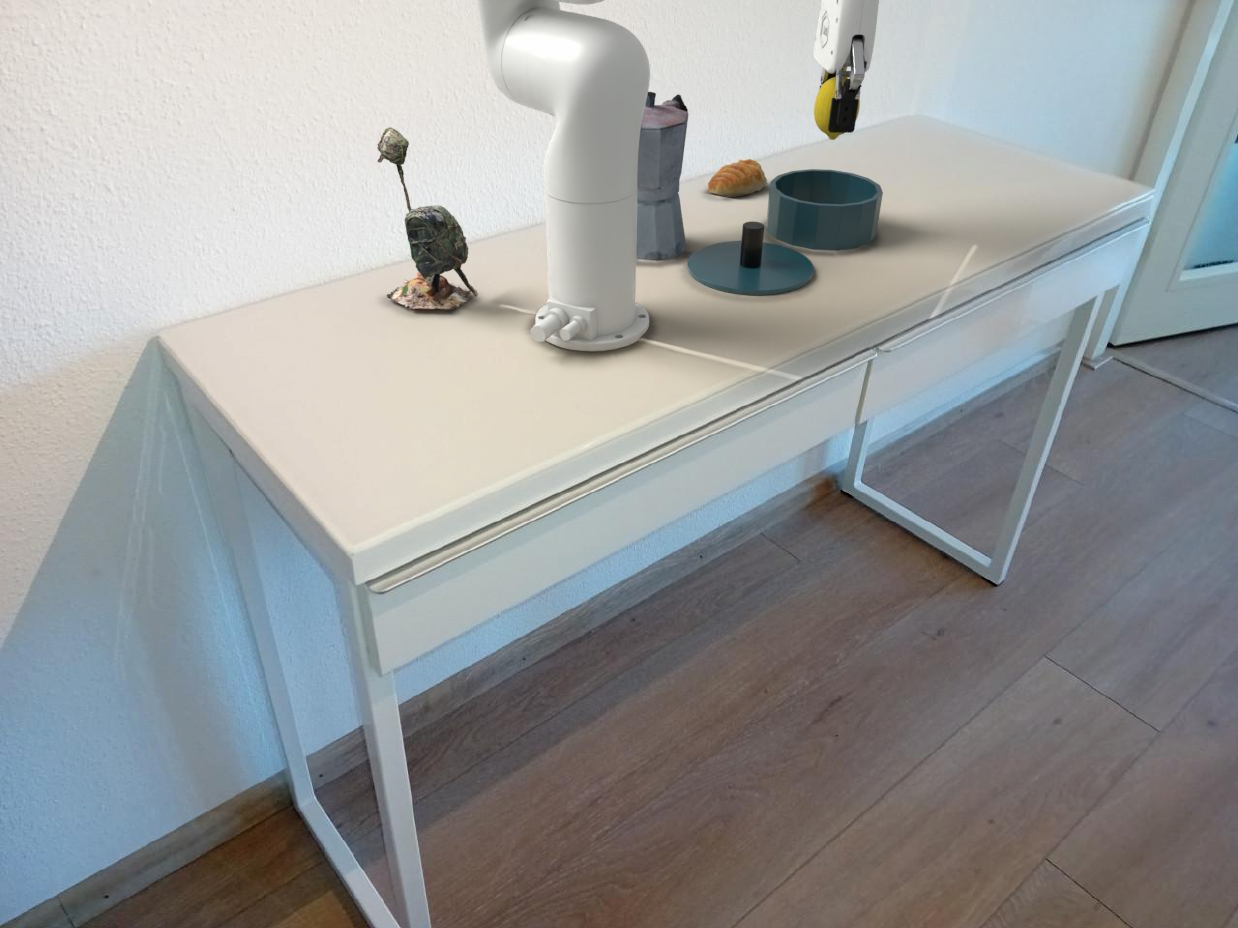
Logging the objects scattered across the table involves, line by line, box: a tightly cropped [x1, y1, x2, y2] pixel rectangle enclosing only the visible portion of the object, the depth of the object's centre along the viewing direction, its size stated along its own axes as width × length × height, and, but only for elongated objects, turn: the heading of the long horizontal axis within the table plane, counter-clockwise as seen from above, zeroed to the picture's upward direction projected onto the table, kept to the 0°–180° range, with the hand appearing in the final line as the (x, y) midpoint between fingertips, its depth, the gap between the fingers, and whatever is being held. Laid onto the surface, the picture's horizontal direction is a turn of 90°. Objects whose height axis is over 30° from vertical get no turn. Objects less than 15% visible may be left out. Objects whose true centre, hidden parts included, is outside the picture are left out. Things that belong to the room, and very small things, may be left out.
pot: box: [765, 168, 884, 251], centre depth 130 cm, size 14×14×6 cm
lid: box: [686, 221, 815, 296], centre depth 119 cm, size 15×15×6 cm
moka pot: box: [636, 91, 689, 262], centre depth 121 cm, size 10×15×20 cm, turn 152°
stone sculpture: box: [376, 126, 479, 311], centre depth 108 cm, size 8×11×20 cm
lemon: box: [813, 77, 861, 141], centre depth 122 cm, size 6×6×8 cm
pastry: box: [707, 158, 768, 199], centre depth 145 cm, size 9×7×4 cm
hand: (834, 123), depth 123 cm, fingers closed on lemon, 5 cm apart
